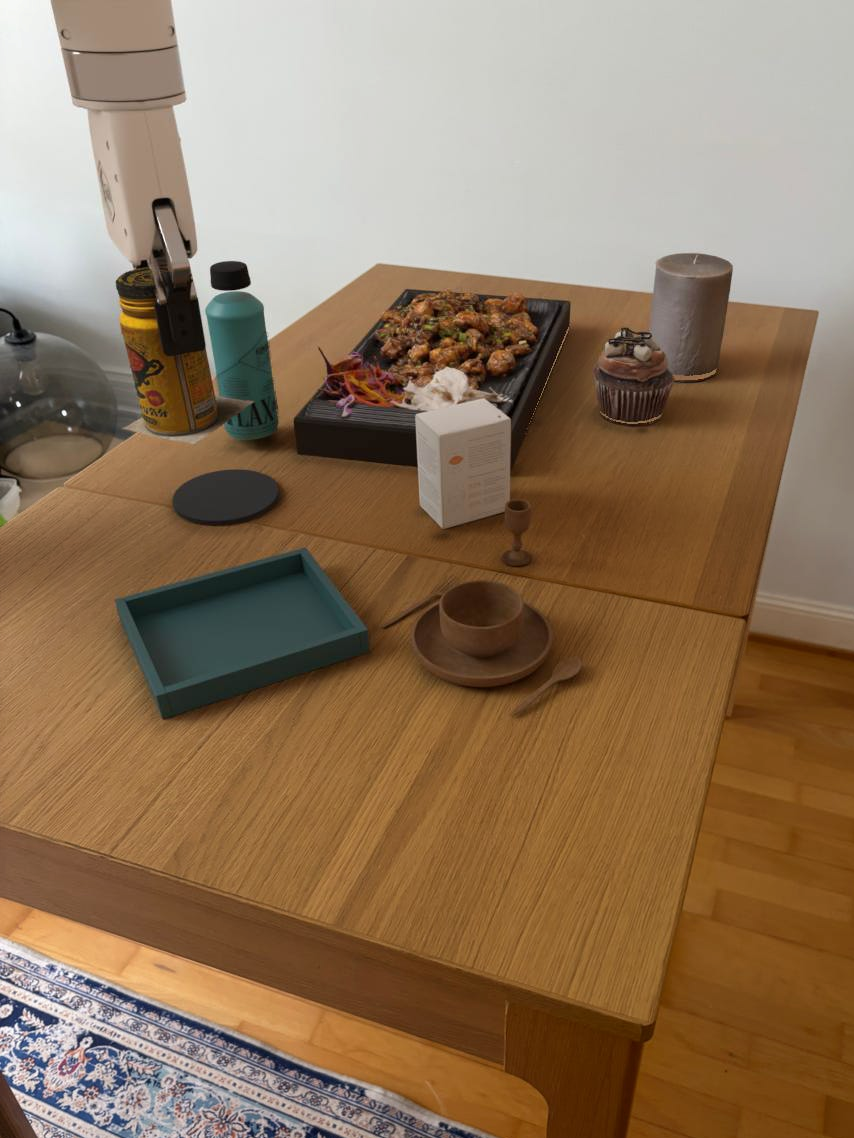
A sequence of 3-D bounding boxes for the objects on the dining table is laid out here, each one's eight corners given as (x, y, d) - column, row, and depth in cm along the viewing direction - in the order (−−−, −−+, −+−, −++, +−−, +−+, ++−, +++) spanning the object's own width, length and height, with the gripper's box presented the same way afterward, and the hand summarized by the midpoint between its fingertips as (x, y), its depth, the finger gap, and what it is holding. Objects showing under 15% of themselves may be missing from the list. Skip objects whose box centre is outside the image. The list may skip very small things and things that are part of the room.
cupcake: (664, 433, 116) (674, 351, 109) (583, 424, 118) (589, 342, 112) (674, 401, 123) (684, 322, 117) (598, 392, 125) (604, 314, 119)
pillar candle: (715, 356, 134) (732, 243, 125) (719, 385, 127) (738, 267, 118) (644, 353, 136) (656, 240, 126) (643, 381, 128) (656, 263, 119)
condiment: (121, 430, 80) (83, 282, 73) (186, 390, 86) (157, 250, 79) (194, 447, 78) (161, 295, 70) (255, 405, 84) (232, 261, 76)
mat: (189, 535, 97) (188, 530, 97) (161, 488, 105) (160, 483, 105) (294, 509, 102) (293, 504, 101) (260, 465, 109) (259, 460, 109)
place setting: (358, 636, 84) (352, 580, 81) (510, 545, 96) (512, 492, 92) (510, 731, 75) (512, 671, 71) (659, 617, 87) (667, 561, 83)
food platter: (508, 476, 107) (510, 387, 101) (297, 453, 111) (286, 367, 105) (569, 331, 142) (573, 258, 136) (406, 318, 146) (402, 247, 140)
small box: (485, 488, 105) (485, 396, 99) (510, 512, 101) (513, 417, 95) (417, 506, 102) (413, 412, 96) (441, 531, 98) (439, 434, 92)
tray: (162, 719, 76) (156, 696, 75) (120, 621, 86) (113, 599, 85) (370, 652, 83) (368, 629, 81) (308, 568, 93) (305, 546, 91)
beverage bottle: (221, 453, 112) (189, 274, 99) (231, 427, 117) (202, 255, 105) (278, 452, 112) (254, 274, 100) (285, 426, 117) (263, 254, 105)
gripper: (48, 63, 71) (104, 310, 82) (92, 102, 59) (150, 386, 70) (152, 57, 74) (193, 297, 85) (215, 93, 62) (253, 367, 73)
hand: (173, 335), depth 77 cm, fingers closed on condiment, 6 cm apart
